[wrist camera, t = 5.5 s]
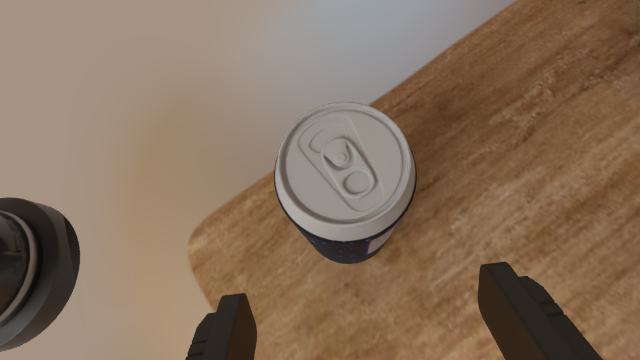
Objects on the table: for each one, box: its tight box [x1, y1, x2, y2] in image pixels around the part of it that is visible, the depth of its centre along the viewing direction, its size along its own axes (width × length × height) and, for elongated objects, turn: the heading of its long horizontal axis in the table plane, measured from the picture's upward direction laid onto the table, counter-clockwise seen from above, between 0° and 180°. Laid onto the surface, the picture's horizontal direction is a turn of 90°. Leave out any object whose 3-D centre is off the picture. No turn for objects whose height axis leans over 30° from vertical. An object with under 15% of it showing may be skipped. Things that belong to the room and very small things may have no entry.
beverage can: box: [274, 102, 417, 264], centre depth 18 cm, size 6×6×12 cm
